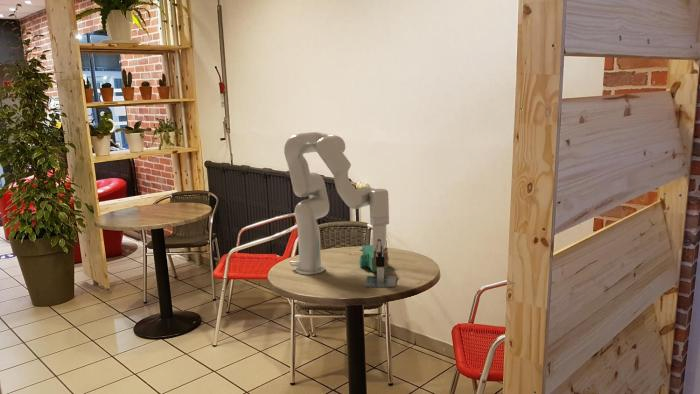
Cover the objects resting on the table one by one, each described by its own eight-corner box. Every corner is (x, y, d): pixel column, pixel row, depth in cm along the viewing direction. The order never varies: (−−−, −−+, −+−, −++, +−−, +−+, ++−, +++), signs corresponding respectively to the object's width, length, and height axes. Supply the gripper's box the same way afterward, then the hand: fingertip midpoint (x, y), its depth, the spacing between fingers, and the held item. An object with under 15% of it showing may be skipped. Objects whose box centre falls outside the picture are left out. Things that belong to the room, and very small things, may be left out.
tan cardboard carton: (374, 267, 209) (373, 251, 208) (375, 263, 214) (374, 247, 213) (387, 267, 208) (386, 251, 207) (388, 263, 213) (387, 247, 212)
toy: (378, 236, 249) (392, 252, 220) (378, 255, 251) (393, 274, 222) (353, 237, 248) (364, 254, 218) (354, 257, 249) (365, 276, 220)
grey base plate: (364, 287, 207) (364, 270, 206) (367, 277, 219) (367, 261, 218) (394, 287, 206) (394, 270, 204) (396, 277, 217) (395, 261, 216)
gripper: (372, 215, 217) (373, 258, 220) (368, 224, 200) (369, 270, 203) (390, 215, 216) (391, 258, 219) (387, 224, 199) (389, 270, 202)
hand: (380, 263), depth 211 cm, fingers closed on tan cardboard carton, 5 cm apart
